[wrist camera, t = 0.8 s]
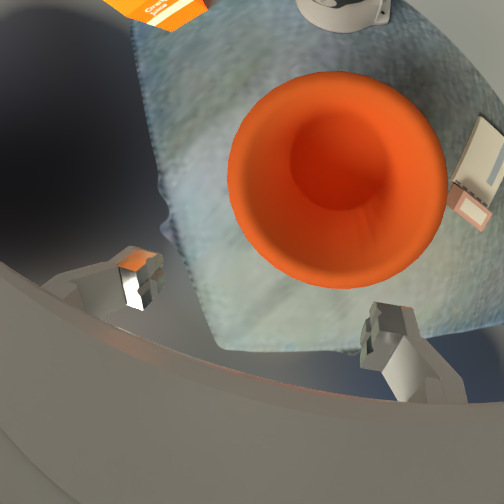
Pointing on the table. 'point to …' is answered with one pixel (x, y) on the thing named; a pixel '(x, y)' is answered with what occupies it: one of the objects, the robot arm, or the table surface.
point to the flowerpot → (337, 180)
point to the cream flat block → (481, 163)
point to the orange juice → (160, 11)
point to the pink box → (468, 207)
